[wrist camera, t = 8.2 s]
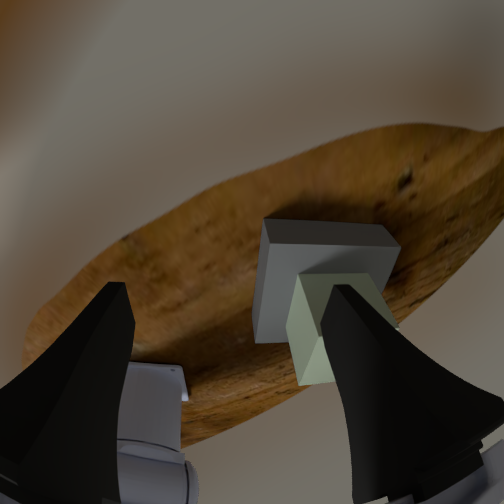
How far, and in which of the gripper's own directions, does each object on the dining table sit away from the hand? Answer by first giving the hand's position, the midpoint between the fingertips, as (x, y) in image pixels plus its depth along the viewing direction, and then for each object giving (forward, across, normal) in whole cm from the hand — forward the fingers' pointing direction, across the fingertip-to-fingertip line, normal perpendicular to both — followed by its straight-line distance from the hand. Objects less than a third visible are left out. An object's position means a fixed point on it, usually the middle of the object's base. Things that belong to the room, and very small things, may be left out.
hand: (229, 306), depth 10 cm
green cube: (+6, -7, +6) cm, 11 cm away
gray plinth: (+9, -7, +6) cm, 13 cm away
